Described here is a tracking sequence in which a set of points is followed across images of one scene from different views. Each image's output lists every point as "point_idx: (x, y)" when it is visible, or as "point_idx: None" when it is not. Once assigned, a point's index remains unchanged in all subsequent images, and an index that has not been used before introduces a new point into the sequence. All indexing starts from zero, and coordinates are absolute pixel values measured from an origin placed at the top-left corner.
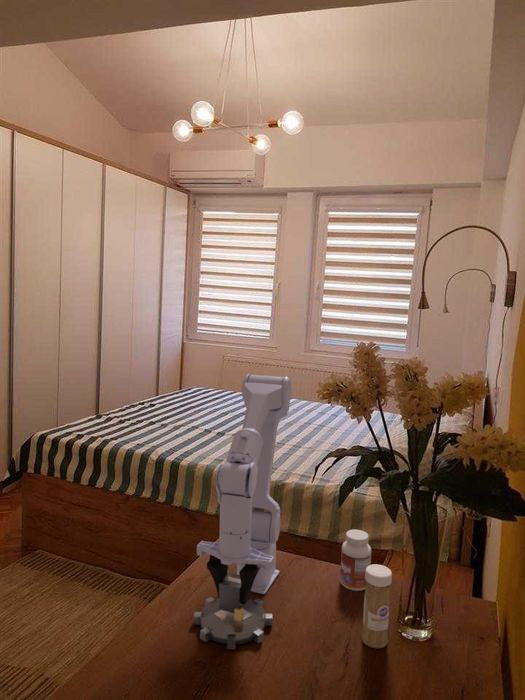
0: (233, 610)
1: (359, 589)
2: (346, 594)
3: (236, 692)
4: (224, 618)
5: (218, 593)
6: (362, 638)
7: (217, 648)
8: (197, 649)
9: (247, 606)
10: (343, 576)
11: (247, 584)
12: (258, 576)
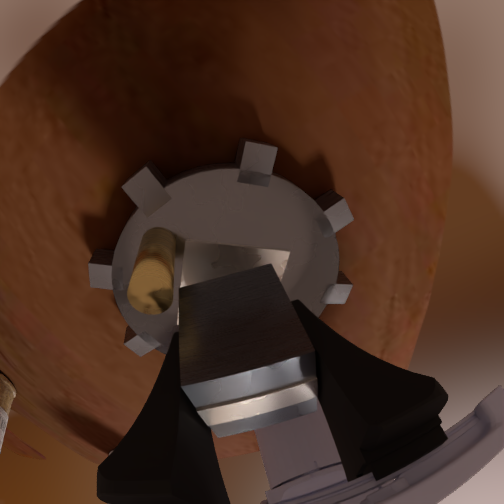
0: (203, 288)
1: (111, 452)
2: (118, 441)
3: (27, 59)
4: (240, 255)
5: (304, 311)
6: (1, 377)
7: (189, 148)
8: (245, 102)
9: None
10: None
11: (139, 423)
12: None
